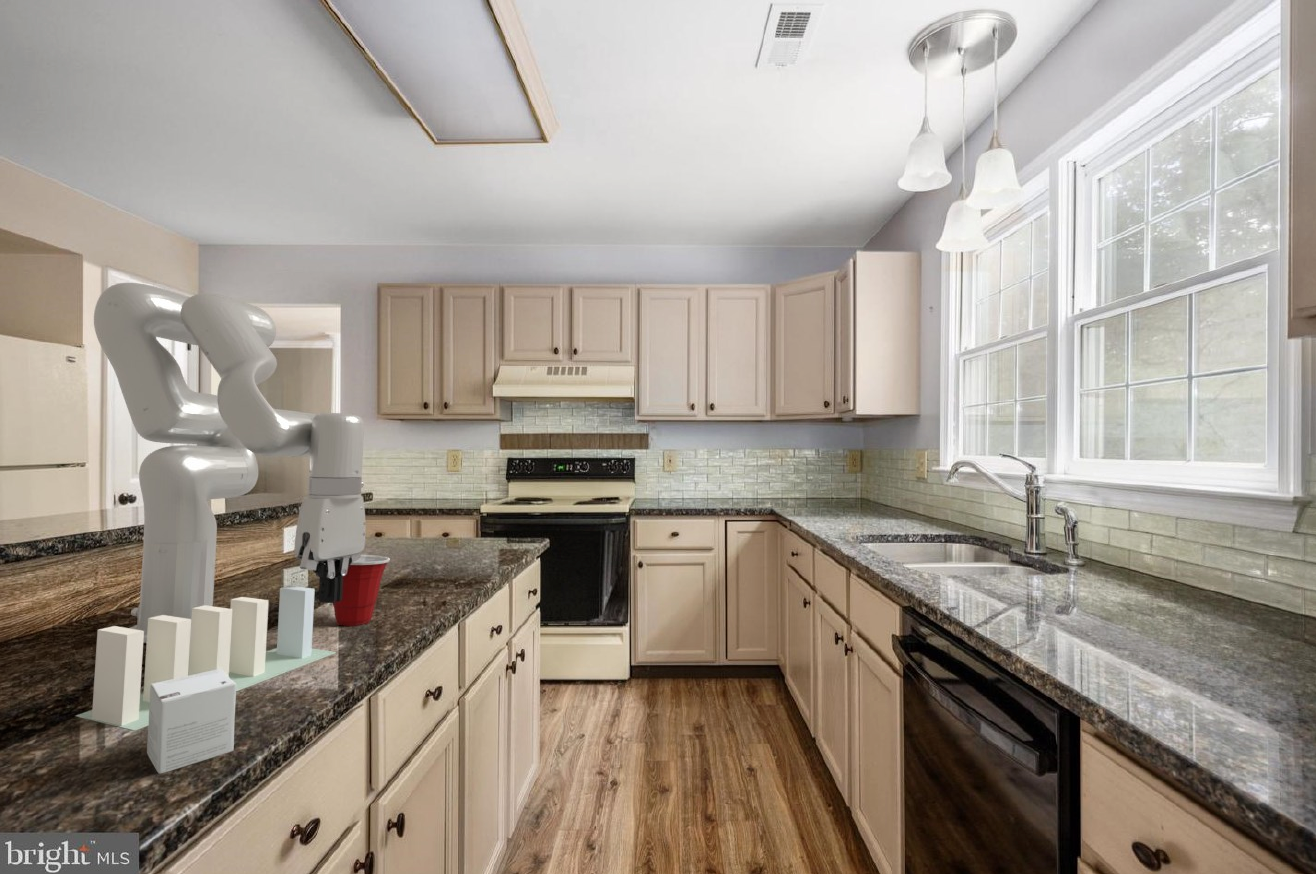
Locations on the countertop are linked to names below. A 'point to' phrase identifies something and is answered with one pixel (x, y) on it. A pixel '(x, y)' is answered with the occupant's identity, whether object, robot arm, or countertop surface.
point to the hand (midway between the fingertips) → (330, 600)
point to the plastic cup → (360, 590)
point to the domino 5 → (295, 621)
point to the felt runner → (273, 668)
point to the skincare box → (190, 719)
